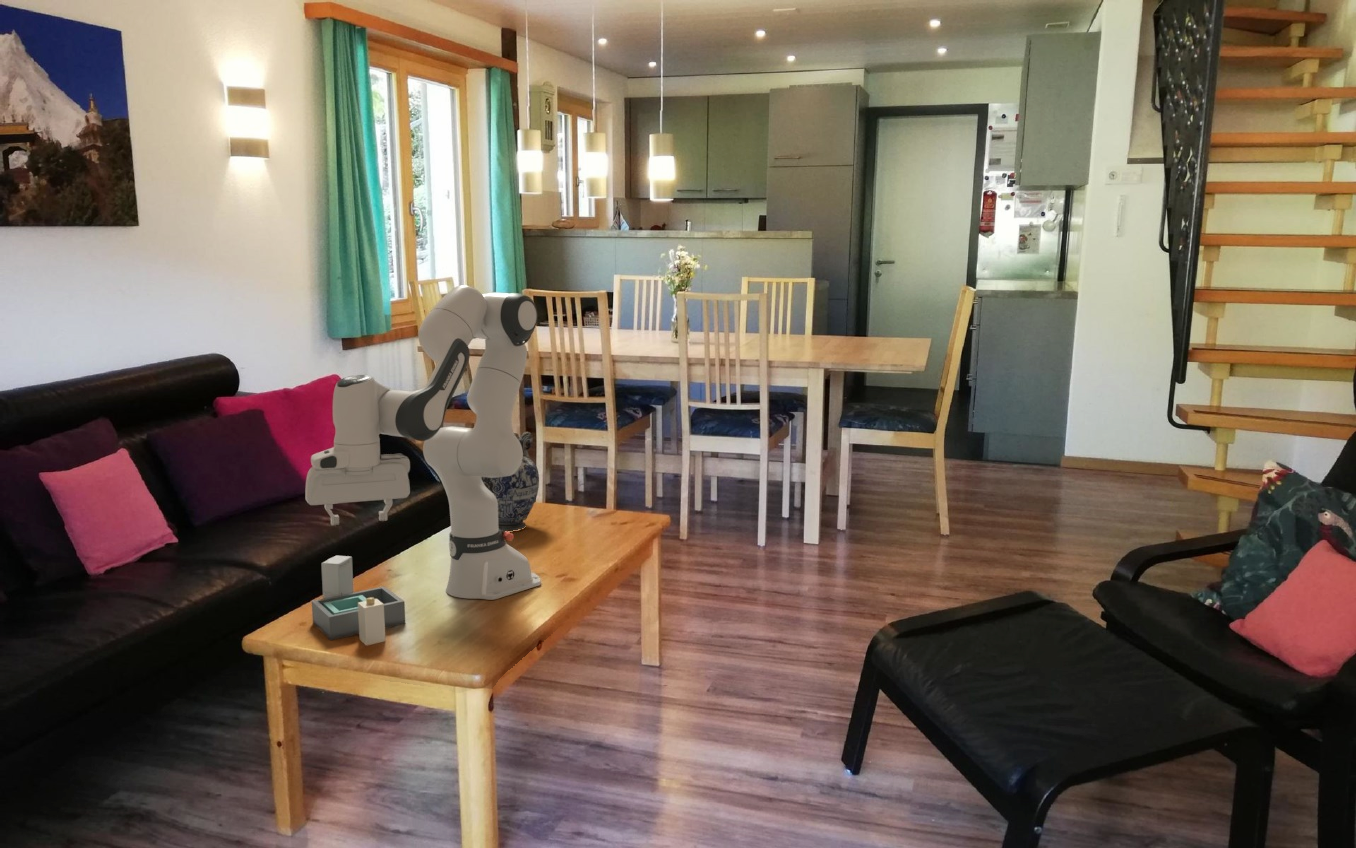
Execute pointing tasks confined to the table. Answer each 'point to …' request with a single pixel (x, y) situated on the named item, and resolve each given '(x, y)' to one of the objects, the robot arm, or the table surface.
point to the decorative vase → (516, 490)
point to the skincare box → (337, 576)
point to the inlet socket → (344, 604)
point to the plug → (371, 621)
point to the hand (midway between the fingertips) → (359, 522)
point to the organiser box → (356, 613)
